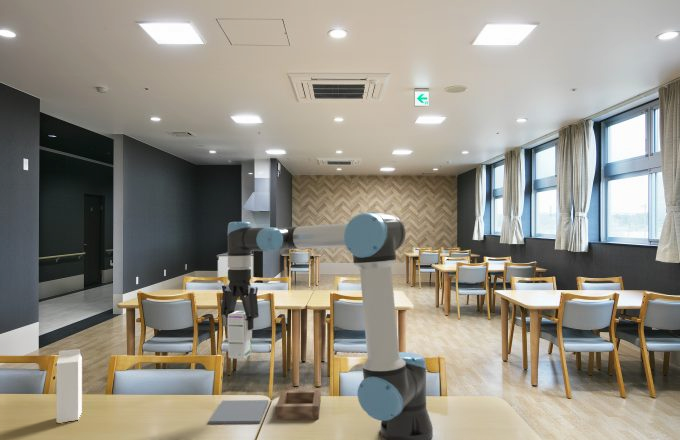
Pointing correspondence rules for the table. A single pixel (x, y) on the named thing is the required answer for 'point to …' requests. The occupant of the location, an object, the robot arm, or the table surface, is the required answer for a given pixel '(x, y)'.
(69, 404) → the milk
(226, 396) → the table surface
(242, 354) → the syrup box
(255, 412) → the charcoal mat
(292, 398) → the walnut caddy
